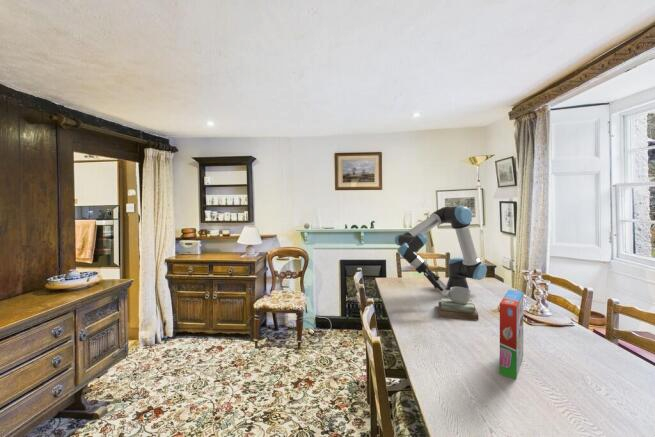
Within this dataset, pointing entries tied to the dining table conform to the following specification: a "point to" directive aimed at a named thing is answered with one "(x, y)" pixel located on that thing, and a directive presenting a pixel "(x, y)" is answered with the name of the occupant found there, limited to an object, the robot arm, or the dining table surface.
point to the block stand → (457, 309)
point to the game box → (511, 333)
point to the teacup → (459, 295)
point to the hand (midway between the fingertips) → (446, 291)
